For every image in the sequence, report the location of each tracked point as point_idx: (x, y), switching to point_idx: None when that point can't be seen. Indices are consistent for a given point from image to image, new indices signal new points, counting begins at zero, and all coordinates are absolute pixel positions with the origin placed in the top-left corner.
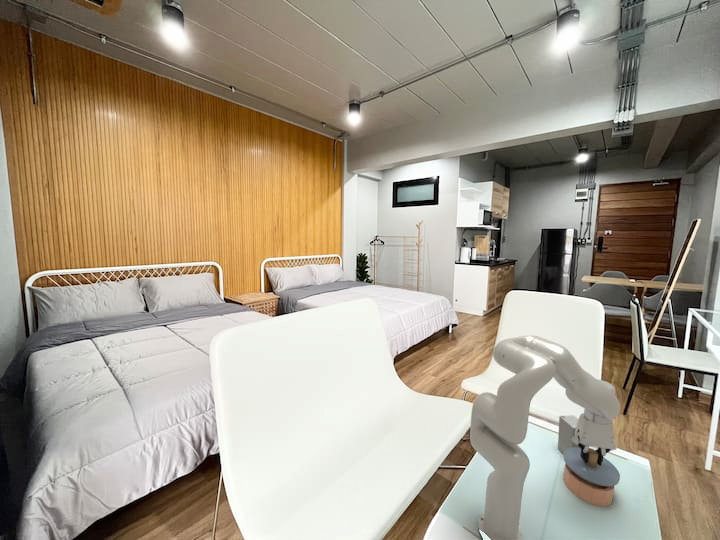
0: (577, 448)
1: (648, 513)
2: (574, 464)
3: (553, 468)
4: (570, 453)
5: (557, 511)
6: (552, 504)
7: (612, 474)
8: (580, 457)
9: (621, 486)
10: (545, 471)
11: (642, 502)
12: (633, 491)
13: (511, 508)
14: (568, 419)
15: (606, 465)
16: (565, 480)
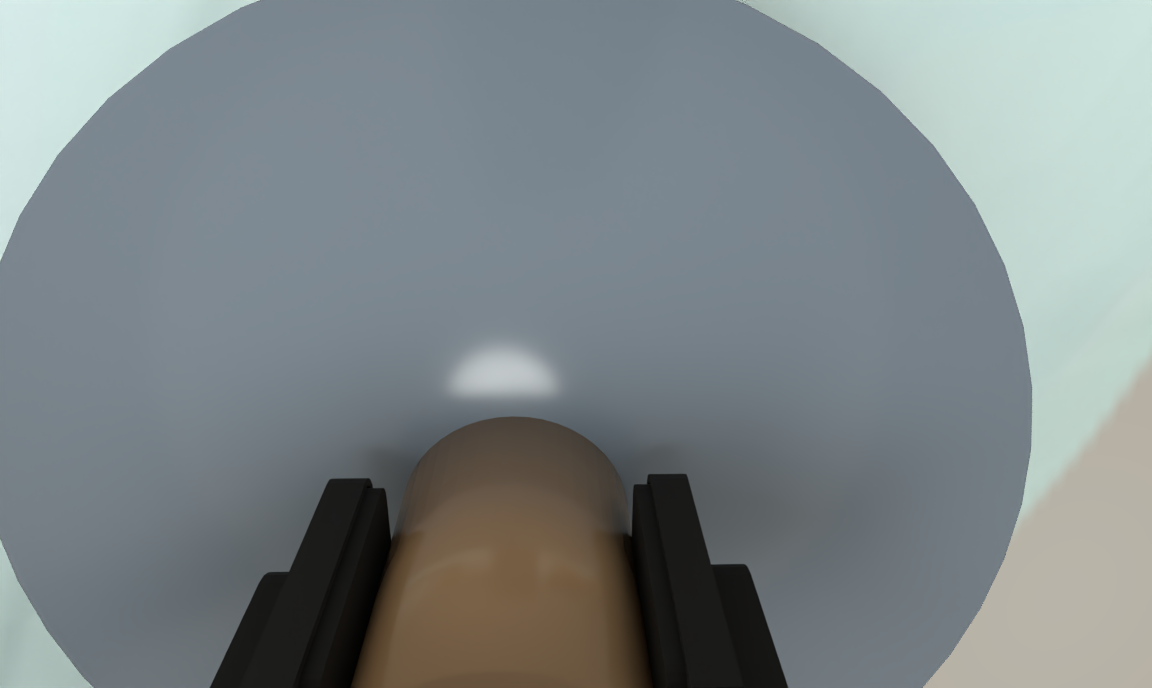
0: (412, 9)
1: (1043, 482)
2: (159, 611)
3: (141, 28)
4: (152, 288)
5: (82, 682)
6: (43, 624)
7: (814, 669)
8: (363, 372)
9: (1037, 145)
10: (7, 136)
11: (1105, 351)
12: (1140, 197)
13: None
14: None
15: (856, 471)
16: None
